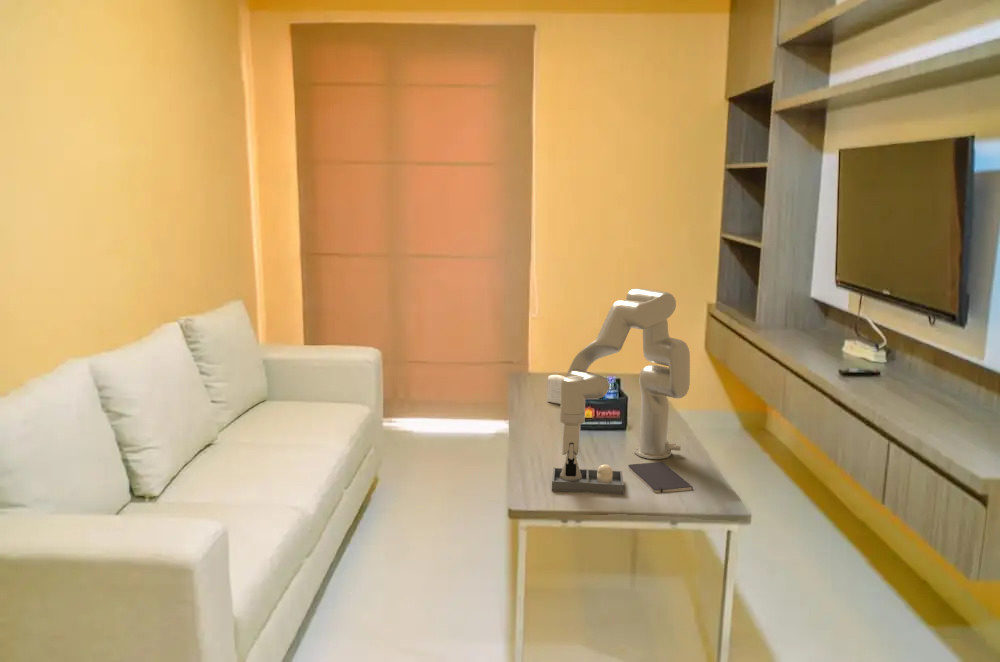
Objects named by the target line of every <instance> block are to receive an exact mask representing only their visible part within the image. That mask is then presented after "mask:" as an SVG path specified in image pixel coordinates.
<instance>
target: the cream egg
mask: <svg viewBox="0 0 1000 662" xmlns="http://www.w3.org/2000/svg"><path fill="white" fill-rule="evenodd" d="M596 470H597V483H609V484H612V477H613V471H614V470H613V467H611V465H608V464H607V463H605V464H600V465H599V466H598V468H597V469H596Z"/></svg>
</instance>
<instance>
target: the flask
mask: <svg viewBox="0 0 1000 662" xmlns="http://www.w3.org/2000/svg"><path fill="white" fill-rule="evenodd" d="M569 447H570V446H569ZM573 447H574V446H573ZM568 454H569V452H568ZM573 454H575V452H573ZM568 458H569V456H568ZM573 458H574V456H573ZM566 463H567V456H566V457H565V461H564V464H563V467H562V468H563V469H562V471H561V474H560V478H561V479H562V480H564V481H578V480H581V478H582V475H581V472H580V469H581V468H580V466H579V462H578V460H577V458H576V463H575V464H576V476H566Z"/></svg>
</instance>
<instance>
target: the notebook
mask: <svg viewBox="0 0 1000 662" xmlns="http://www.w3.org/2000/svg"><path fill="white" fill-rule="evenodd" d="M627 466H628V469H629V470H630V471H631V472H632V473H633V475H635V476H636V477H637V478H638V479H639V480H640V481H641V482H642V483H643V484H645V486H646V487H647V488H649V490H651V491H652V492H653V493H656V494H659V493H667V492H668V493H669V492H681V491H690V490H692V491H693V485H691V484H690V483H689V482H688V481H686V480H685V479H684V478H683V477H681V476H680V475H679V474H678V473H676V471H674V470H673V469H672V468H671V467H669V466H668V464H666V463H664V462H663V461H655V462H645V463H642V462H641V463H633V464H628V465H627Z"/></svg>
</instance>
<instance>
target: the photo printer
mask: <svg viewBox="0 0 1000 662" xmlns="http://www.w3.org/2000/svg"><path fill="white" fill-rule="evenodd" d="M565 377H566V376H564V375H561V374H560V375H559V374H550V375H548V376H547V381H546V382H547V383H546V384H547V386H546V387H547V390H546V391H547V392H546V401H547V402H548V403H553V404H559V405H561V381H562V379H563V378H565Z"/></svg>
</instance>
